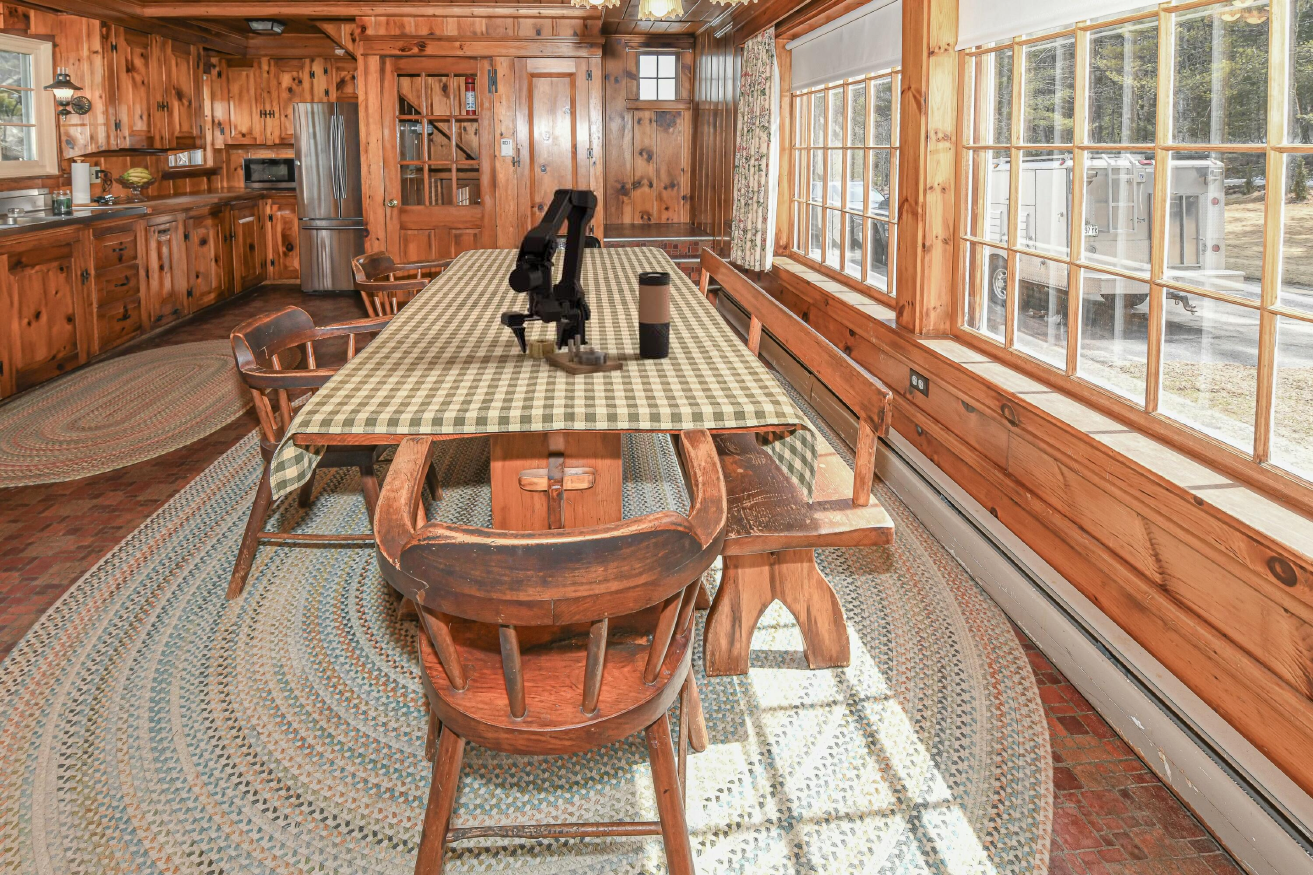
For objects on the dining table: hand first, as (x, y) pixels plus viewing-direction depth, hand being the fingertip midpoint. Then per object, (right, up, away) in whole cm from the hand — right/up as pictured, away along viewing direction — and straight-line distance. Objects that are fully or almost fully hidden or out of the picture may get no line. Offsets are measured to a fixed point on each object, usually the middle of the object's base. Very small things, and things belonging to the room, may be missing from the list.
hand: (542, 351), depth 233 cm
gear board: (+11, -4, -9) cm, 15 cm away
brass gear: (0, -1, 0) cm, 1 cm away
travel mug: (+27, -1, +1) cm, 27 cm away
